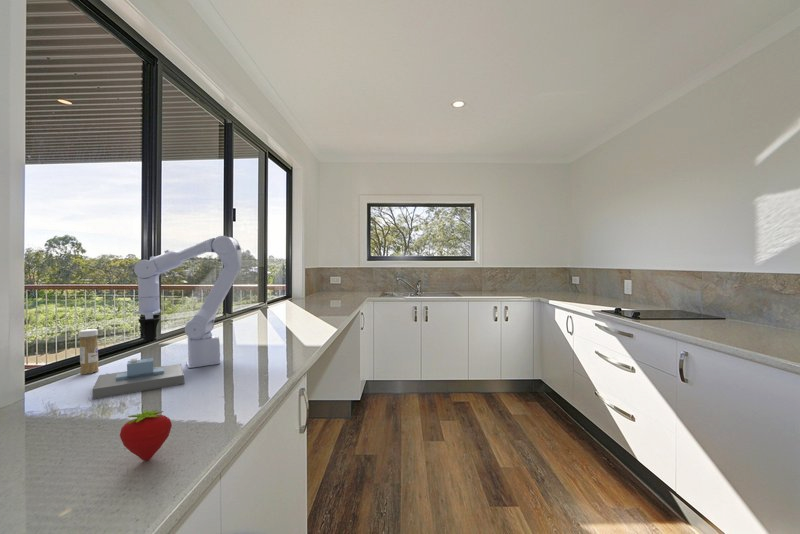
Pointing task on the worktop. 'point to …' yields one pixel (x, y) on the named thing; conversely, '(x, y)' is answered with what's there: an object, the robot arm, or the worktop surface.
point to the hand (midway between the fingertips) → (150, 338)
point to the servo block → (139, 369)
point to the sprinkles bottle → (88, 351)
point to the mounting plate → (137, 382)
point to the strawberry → (145, 433)
